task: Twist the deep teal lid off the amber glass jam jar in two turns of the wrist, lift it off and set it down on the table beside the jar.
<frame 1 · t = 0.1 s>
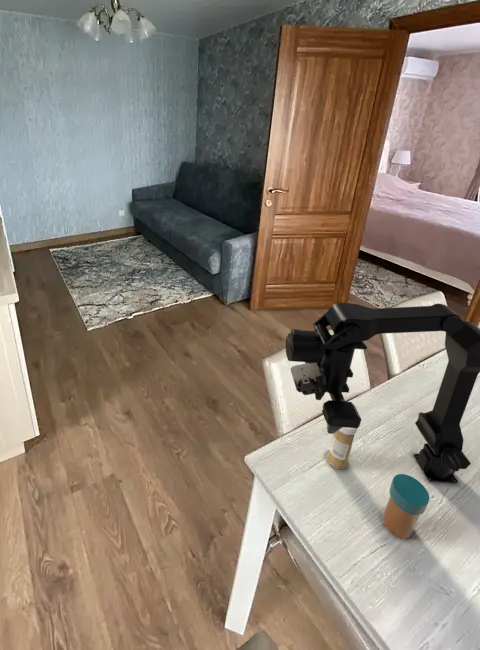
hand: (323, 415, 79), 15 cm above the table, tool pointing down, fingers open, 9 cm apart
sprinkles bottle: (336, 461, 84), on the table
jar: (396, 524, 71), on the table
lid: (410, 490, 67), point 11 cm above the table, screwed on, not yet turned
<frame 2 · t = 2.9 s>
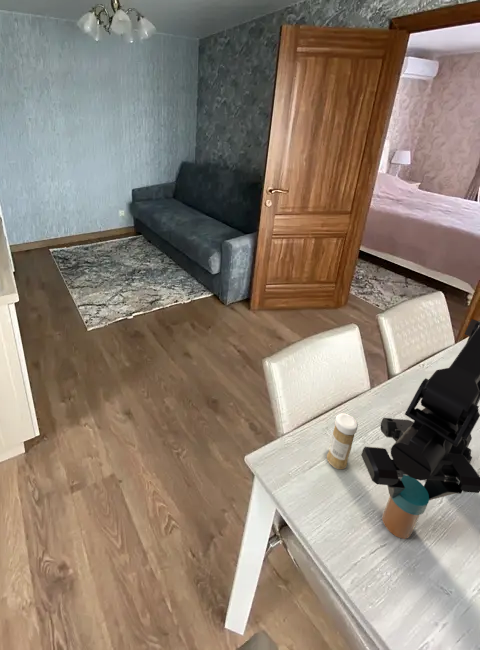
hand: (407, 497, 68), 9 cm above the table, tool pointing down, fingers closed on lid, 6 cm apart
lid: (410, 490, 67), point 11 cm above the table, screwed on, not yet turned, touching gripper
everything else where it was.
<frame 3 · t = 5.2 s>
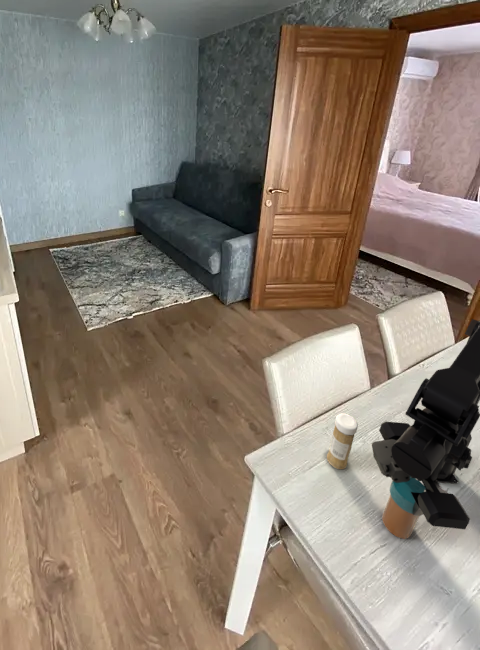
hand: (406, 497, 68), 8 cm above the table, tool pointing down, fingers closed on lid, 6 cm apart
lid: (410, 489, 67), point 11 cm above the table, turned 90° so far, risen 0.2 cm, still on its thread, touching gripper
everything else where it was.
when the fingers open (5 cm above the table, at t = 6.7 s): lid stays where it is, point 11 cm above the table.
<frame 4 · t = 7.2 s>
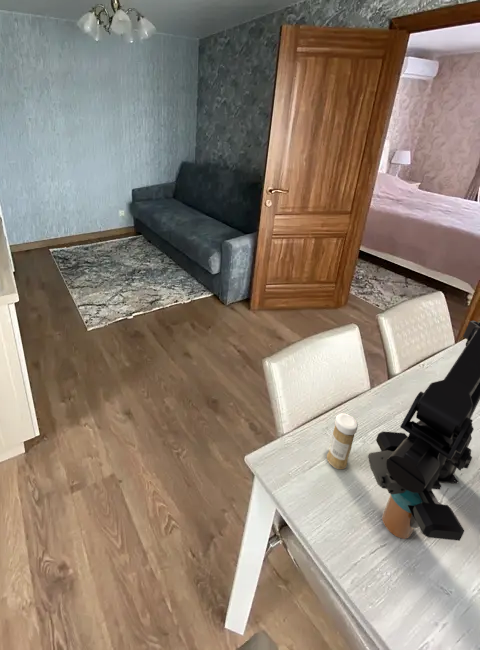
hand: (403, 506, 69), 6 cm above the table, tool pointing down, fingers open, 7 cm apart
lid: (410, 489, 67), point 11 cm above the table, turned 90° so far, risen 0.2 cm, still on its thread
everything else where it was.
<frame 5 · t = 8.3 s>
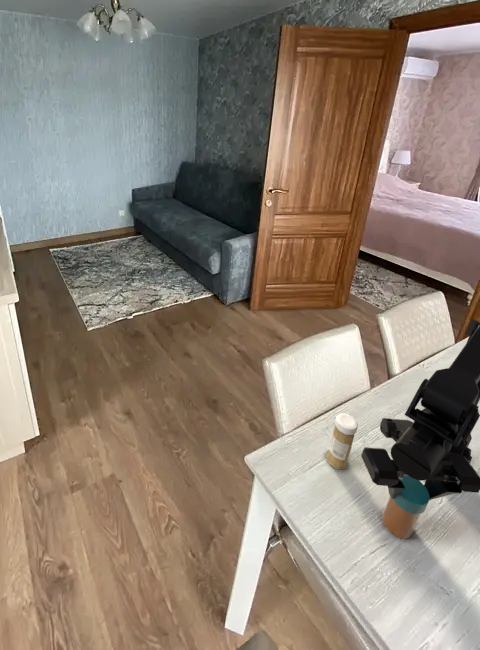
hand: (407, 497, 68), 9 cm above the table, tool pointing down, fingers closed on lid, 6 cm apart
lid: (410, 489, 67), point 11 cm above the table, turned 90° so far, risen 0.2 cm, still on its thread, touching gripper
everything else where it was.
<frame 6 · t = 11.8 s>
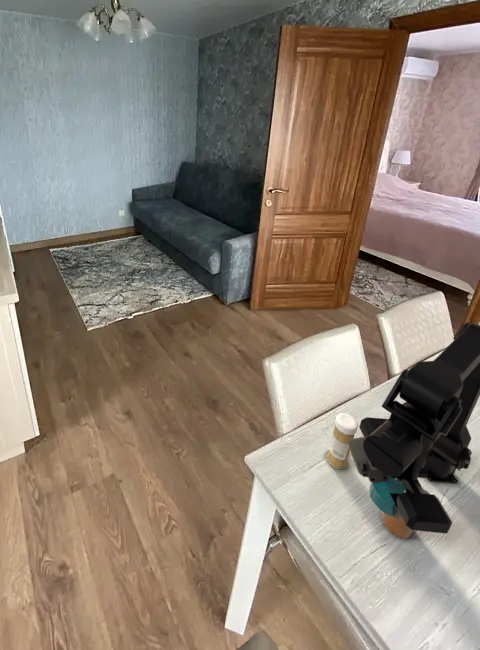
hand: (387, 498, 63), 13 cm above the table, tool pointing down, fingers closed on lid, 6 cm apart
lid: (390, 490, 62), point 16 cm above the table, off its thread, touching gripper
everything else where it was.
when the fingers open (0 cm above the table, at t = 15.5 s): lid stays where it is, point 2 cm above the table.
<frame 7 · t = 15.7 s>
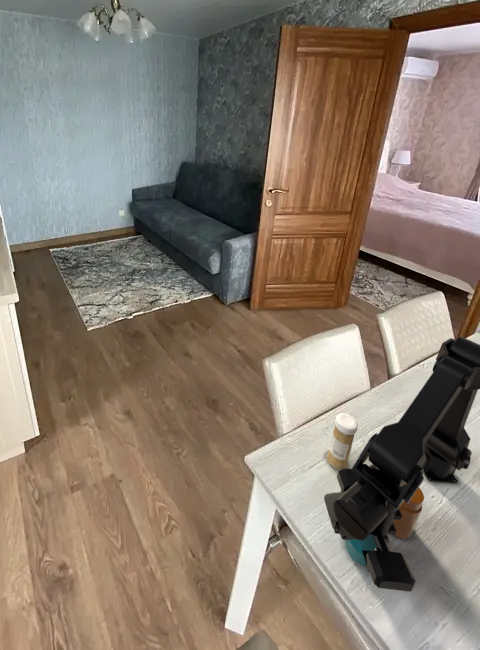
hand: (361, 548, 67), 0 cm above the table, tool pointing down, fingers open, 6 cm apart
lid: (364, 540, 66), point 2 cm above the table, off its thread
everything else where it was.
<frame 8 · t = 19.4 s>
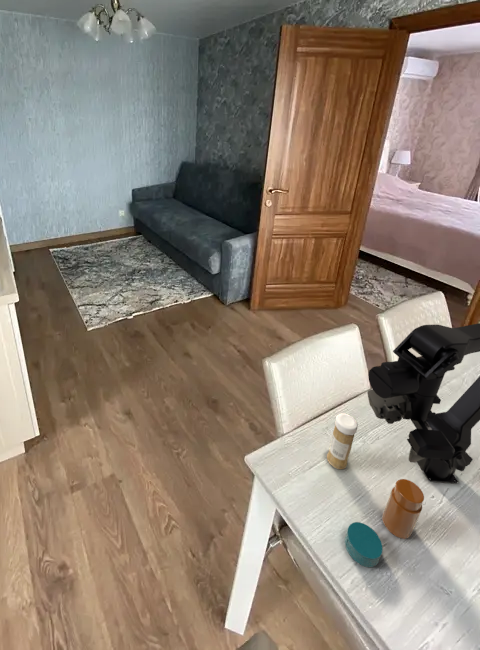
hand: (400, 441, 74), 13 cm above the table, tool pointing down, fingers open, 9 cm apart
nothing on the table moved.
at the end: lid came off its thread; lid point 2.5 cm above the table; the gripper is holding nothing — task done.
